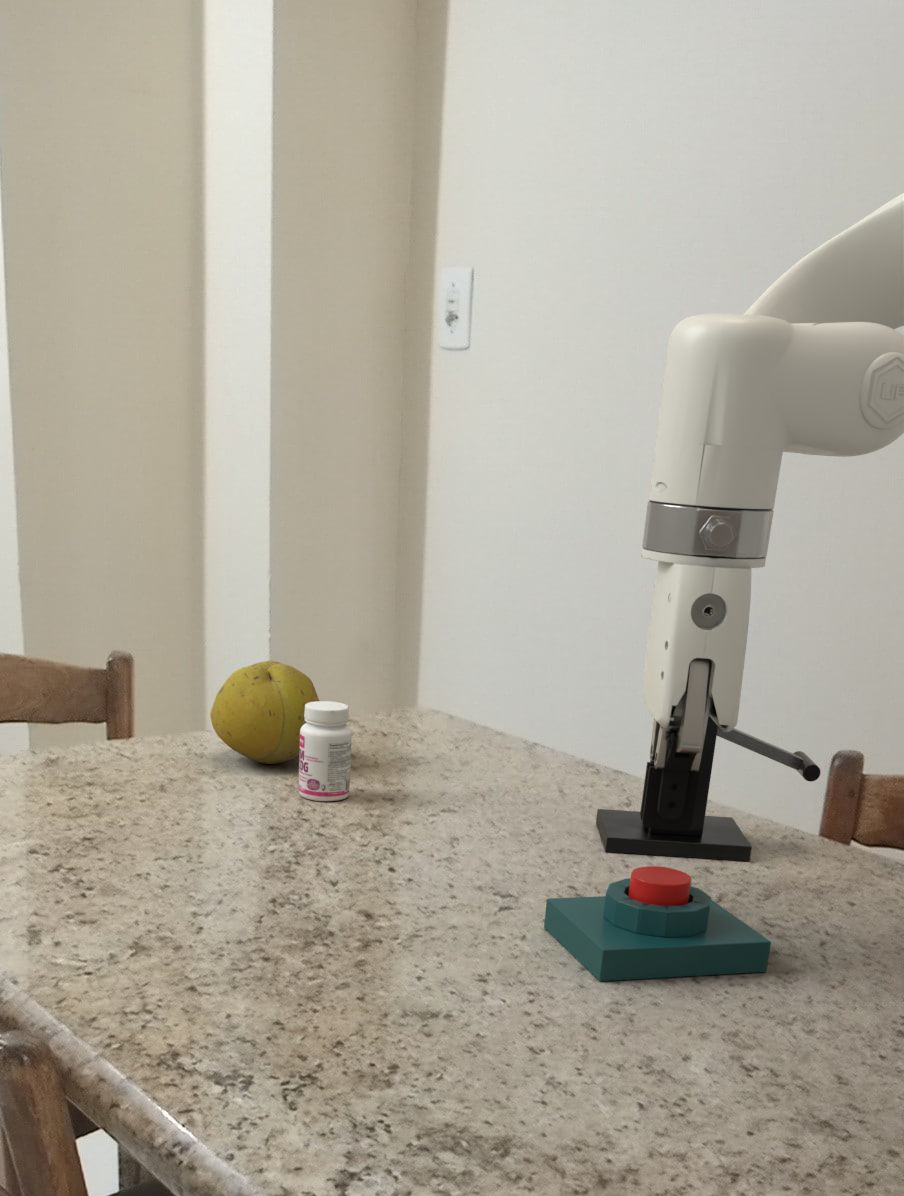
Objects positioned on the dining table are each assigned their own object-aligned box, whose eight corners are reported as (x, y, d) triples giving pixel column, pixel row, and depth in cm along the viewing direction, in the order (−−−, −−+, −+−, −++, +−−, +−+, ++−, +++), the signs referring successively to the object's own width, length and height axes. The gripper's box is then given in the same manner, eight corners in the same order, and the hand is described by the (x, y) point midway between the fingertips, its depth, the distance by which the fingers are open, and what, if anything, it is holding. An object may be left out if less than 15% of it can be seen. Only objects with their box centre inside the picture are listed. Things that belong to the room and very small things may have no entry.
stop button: (672, 889, 95) (675, 864, 95) (698, 908, 92) (702, 883, 91) (618, 891, 94) (621, 866, 94) (643, 910, 91) (646, 885, 90)
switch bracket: (730, 831, 123) (752, 688, 118) (749, 861, 115) (773, 708, 110) (595, 822, 124) (612, 679, 119) (605, 852, 115) (623, 699, 110)
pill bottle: (287, 793, 128) (289, 702, 125) (326, 786, 131) (329, 698, 128) (320, 805, 125) (323, 712, 121) (359, 797, 128) (363, 707, 124)
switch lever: (798, 774, 119) (812, 749, 118) (812, 789, 114) (826, 763, 113) (661, 715, 118) (674, 689, 117) (669, 728, 113) (682, 701, 112)
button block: (697, 920, 100) (704, 868, 99) (766, 972, 91) (776, 915, 90) (543, 927, 97) (548, 873, 96) (599, 981, 88) (606, 923, 87)
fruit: (344, 761, 140) (348, 662, 137) (275, 782, 131) (277, 677, 128) (258, 743, 146) (260, 648, 142) (186, 762, 137) (186, 661, 133)
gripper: (794, 551, 77) (743, 863, 84) (744, 532, 91) (703, 801, 98) (660, 543, 77) (619, 854, 84) (630, 525, 91) (597, 793, 98)
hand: (665, 824), depth 91 cm, fingers closed
